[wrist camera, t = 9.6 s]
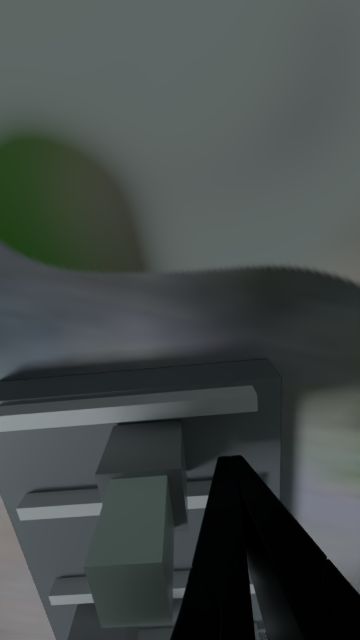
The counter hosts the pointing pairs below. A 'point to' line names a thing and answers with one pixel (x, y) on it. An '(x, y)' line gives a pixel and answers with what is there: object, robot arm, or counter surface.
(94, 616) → the fader
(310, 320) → the counter surface
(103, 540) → the fader
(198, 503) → the console
